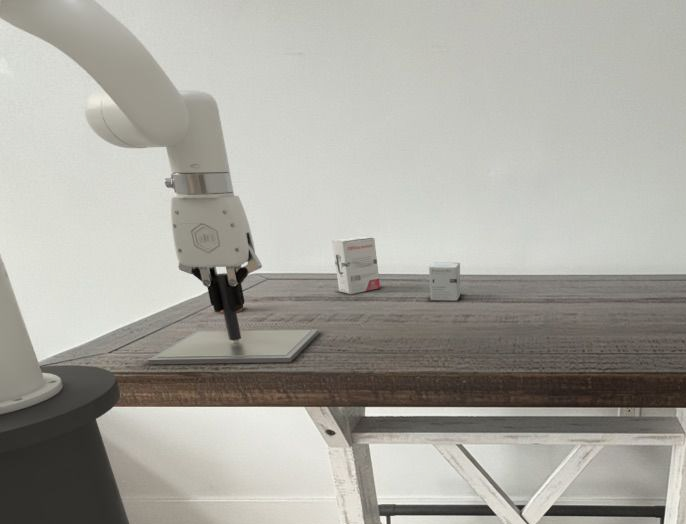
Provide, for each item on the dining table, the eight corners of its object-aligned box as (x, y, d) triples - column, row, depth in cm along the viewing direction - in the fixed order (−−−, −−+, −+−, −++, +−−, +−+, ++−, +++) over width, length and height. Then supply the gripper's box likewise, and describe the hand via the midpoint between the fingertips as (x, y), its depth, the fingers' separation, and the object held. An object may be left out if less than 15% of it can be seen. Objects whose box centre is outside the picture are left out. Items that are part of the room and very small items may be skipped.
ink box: (368, 285, 135) (363, 235, 130) (380, 288, 132) (376, 237, 127) (337, 291, 129) (330, 239, 124) (349, 294, 126) (343, 241, 121)
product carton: (430, 300, 120) (428, 266, 117) (434, 294, 126) (432, 261, 123) (458, 301, 120) (456, 266, 117) (461, 294, 126) (460, 261, 123)
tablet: (290, 362, 84) (289, 356, 83) (149, 364, 83) (147, 358, 83) (318, 333, 98) (318, 328, 97) (197, 335, 97) (196, 330, 97)
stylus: (239, 343, 89) (225, 275, 85) (227, 344, 89) (213, 275, 85) (243, 340, 91) (230, 273, 87) (232, 340, 91) (218, 273, 87)
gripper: (133, 188, 77) (165, 316, 84) (249, 187, 78) (271, 315, 85) (162, 185, 84) (190, 304, 91) (268, 185, 85) (287, 303, 92)
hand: (229, 308), depth 88 cm, fingers closed on stylus, 2 cm apart
